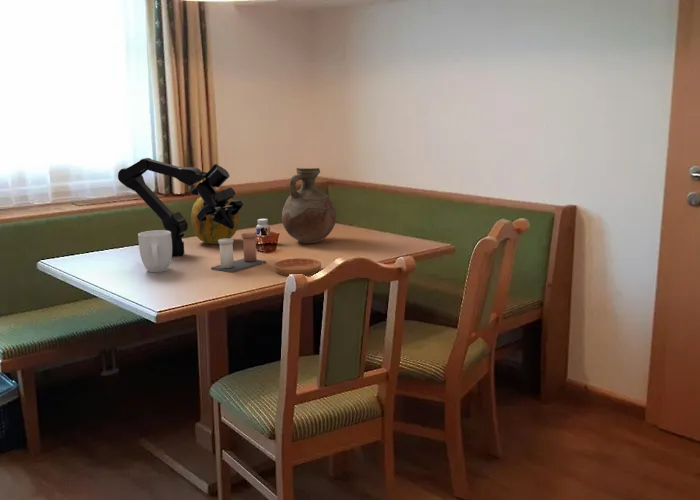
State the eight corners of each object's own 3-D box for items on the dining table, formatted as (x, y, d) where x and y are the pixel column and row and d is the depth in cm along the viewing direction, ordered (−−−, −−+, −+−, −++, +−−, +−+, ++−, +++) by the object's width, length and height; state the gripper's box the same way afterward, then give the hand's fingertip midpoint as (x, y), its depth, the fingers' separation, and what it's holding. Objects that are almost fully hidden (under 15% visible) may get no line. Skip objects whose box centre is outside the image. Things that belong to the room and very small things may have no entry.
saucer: (326, 267, 254) (326, 258, 254) (314, 278, 239) (313, 269, 238) (282, 265, 258) (282, 257, 257) (267, 276, 243) (267, 268, 242)
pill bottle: (268, 244, 292) (267, 220, 289) (255, 244, 293) (253, 220, 291) (272, 242, 297) (271, 218, 295) (259, 241, 298) (258, 218, 296)
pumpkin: (205, 237, 309) (202, 178, 304) (248, 238, 304) (244, 178, 299) (184, 246, 292) (180, 183, 287) (228, 248, 287) (225, 184, 281)
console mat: (211, 269, 254) (211, 267, 254) (245, 259, 267) (245, 257, 267) (232, 272, 248) (231, 270, 248) (266, 262, 261) (266, 261, 261)
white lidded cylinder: (216, 267, 252) (214, 240, 250) (227, 264, 257) (225, 237, 255) (227, 269, 249) (225, 241, 247) (238, 265, 254) (236, 239, 252)
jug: (347, 239, 298) (345, 165, 292) (316, 250, 280) (314, 171, 274) (303, 235, 310) (301, 163, 303) (271, 244, 292) (268, 169, 285)
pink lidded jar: (240, 260, 261) (238, 234, 259) (250, 257, 266) (248, 232, 263) (250, 262, 258) (249, 236, 256) (260, 259, 262) (259, 233, 260)
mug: (173, 275, 246) (171, 237, 243) (139, 277, 244) (136, 239, 241) (174, 265, 260) (171, 229, 258) (141, 267, 258) (138, 231, 255)
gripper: (200, 184, 257) (224, 217, 252) (238, 178, 271) (261, 210, 267) (186, 205, 263) (210, 238, 259) (224, 198, 277) (247, 229, 273)
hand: (233, 228), depth 264 cm, fingers closed
